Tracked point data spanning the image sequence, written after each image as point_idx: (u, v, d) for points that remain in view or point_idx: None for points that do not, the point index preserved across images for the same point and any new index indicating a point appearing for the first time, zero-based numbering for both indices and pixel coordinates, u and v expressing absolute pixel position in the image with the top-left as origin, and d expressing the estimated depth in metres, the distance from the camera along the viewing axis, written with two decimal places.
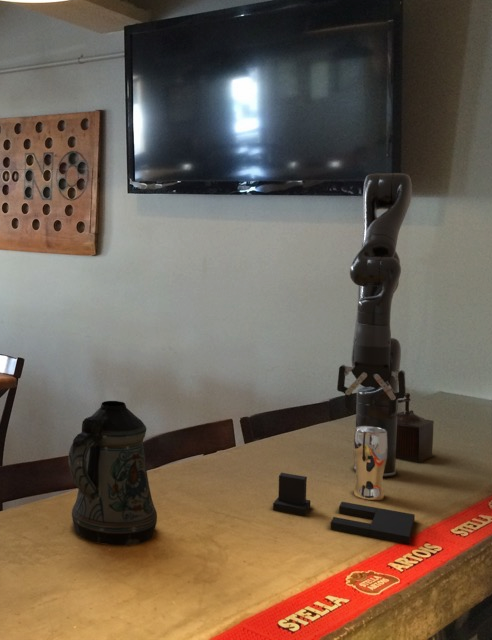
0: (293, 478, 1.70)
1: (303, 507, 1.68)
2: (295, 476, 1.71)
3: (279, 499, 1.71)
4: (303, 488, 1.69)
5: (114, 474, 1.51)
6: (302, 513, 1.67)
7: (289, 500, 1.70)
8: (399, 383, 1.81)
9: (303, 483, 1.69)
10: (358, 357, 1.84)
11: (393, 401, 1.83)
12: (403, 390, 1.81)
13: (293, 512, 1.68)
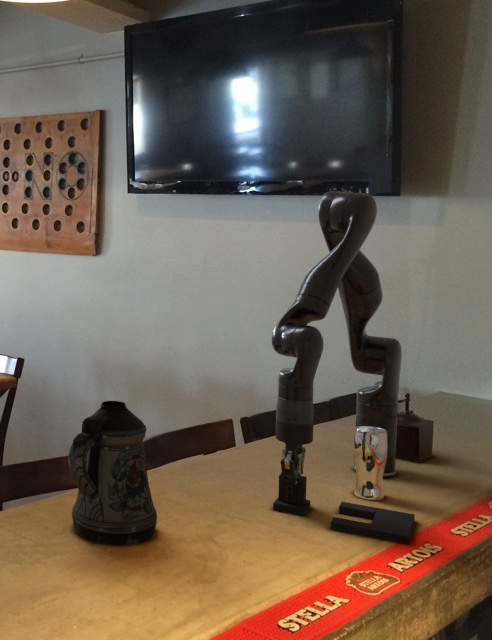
0: None
1: (303, 507, 1.68)
2: None
3: (279, 499, 1.71)
4: (303, 488, 1.69)
5: (114, 474, 1.51)
6: (302, 513, 1.67)
7: None
8: None
9: (303, 483, 1.69)
10: None
11: None
12: (282, 476, 1.68)
13: (293, 512, 1.68)
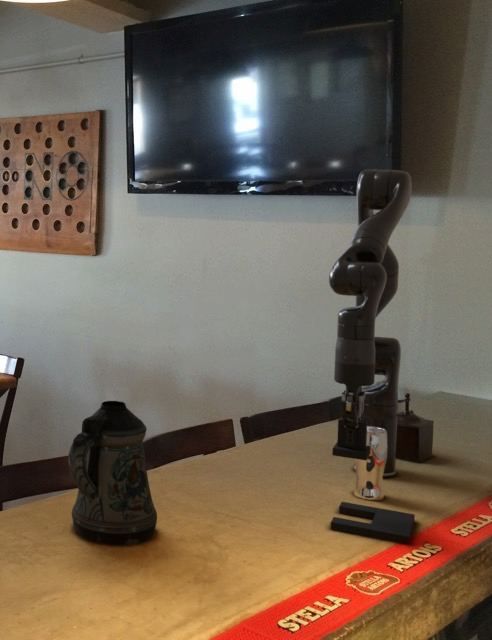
0: None
1: (365, 451, 1.61)
2: None
3: (338, 444, 1.64)
4: (364, 432, 1.62)
5: (114, 474, 1.51)
6: (364, 457, 1.60)
7: None
8: None
9: (364, 427, 1.62)
10: None
11: None
12: None
13: (354, 457, 1.61)
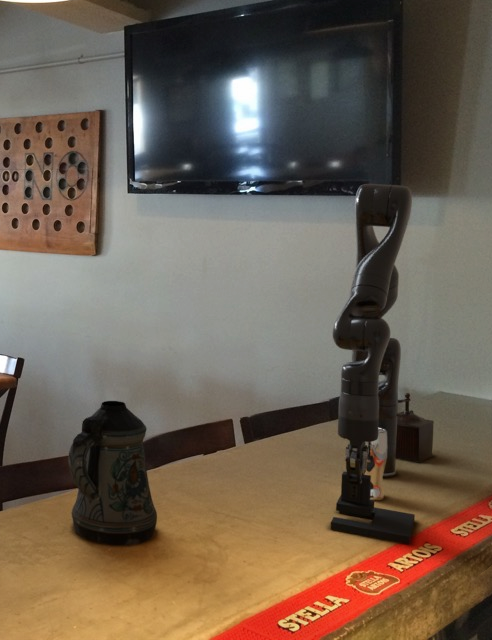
0: None
1: (369, 507, 1.61)
2: None
3: (342, 499, 1.64)
4: (368, 487, 1.62)
5: (114, 474, 1.51)
6: (368, 514, 1.60)
7: None
8: None
9: (368, 482, 1.62)
10: None
11: None
12: None
13: (358, 512, 1.61)
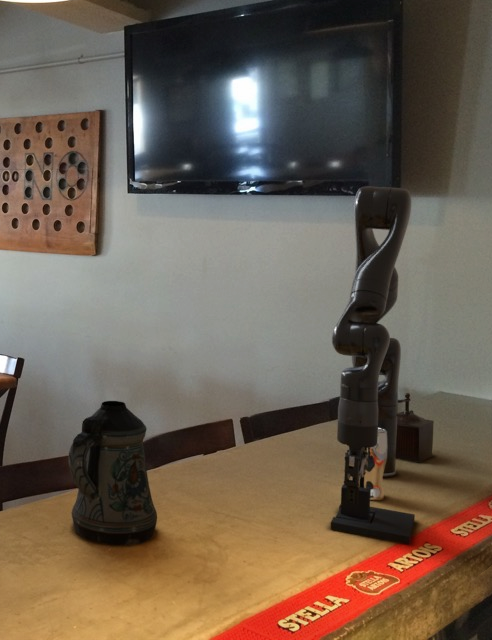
0: None
1: (368, 520, 1.61)
2: None
3: (341, 512, 1.64)
4: (367, 501, 1.62)
5: (114, 474, 1.51)
6: None
7: (352, 513, 1.63)
8: None
9: (367, 496, 1.62)
10: None
11: None
12: None
13: None
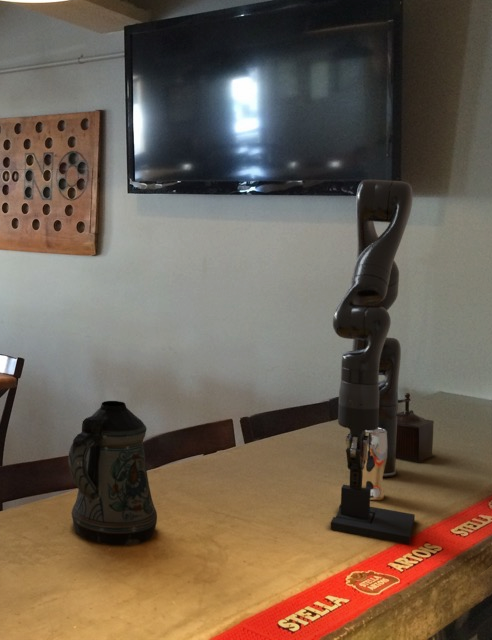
0: (357, 490, 1.63)
1: (368, 521, 1.61)
2: None
3: (341, 512, 1.64)
4: (367, 501, 1.62)
5: (114, 474, 1.51)
6: None
7: (352, 513, 1.63)
8: None
9: (367, 496, 1.62)
10: None
11: None
12: None
13: None
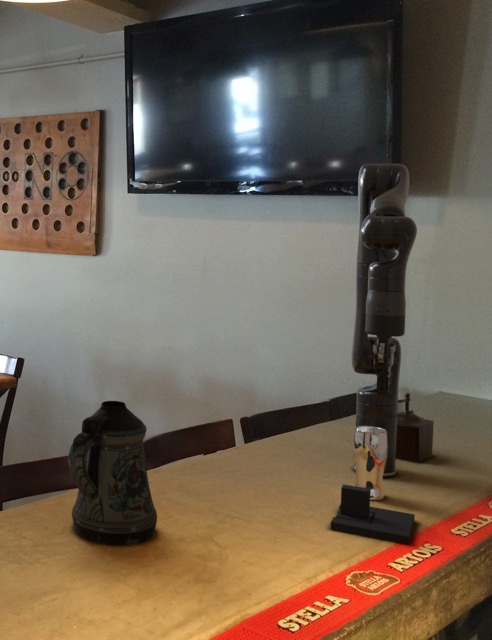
0: (356, 490, 1.63)
1: (368, 520, 1.61)
2: (358, 488, 1.64)
3: (341, 512, 1.64)
4: (367, 501, 1.62)
5: (114, 474, 1.51)
6: None
7: (352, 513, 1.63)
8: None
9: (367, 495, 1.62)
10: None
11: (378, 378, 1.69)
12: (375, 369, 1.66)
13: None
